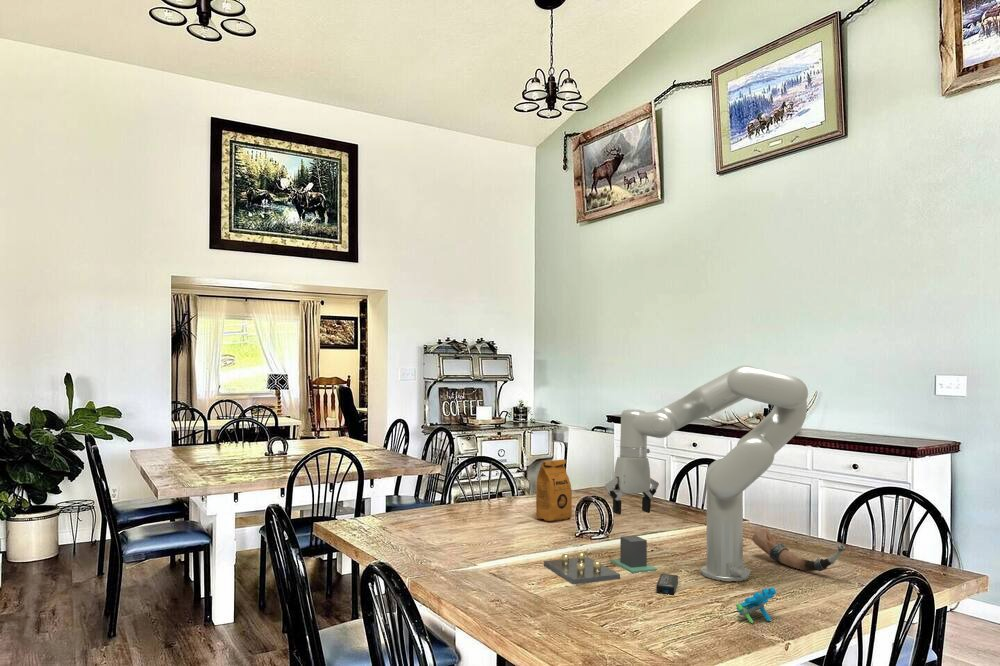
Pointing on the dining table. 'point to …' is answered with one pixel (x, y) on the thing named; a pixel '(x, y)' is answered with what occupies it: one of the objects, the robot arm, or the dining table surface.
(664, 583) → the multiport hub
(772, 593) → the blue toy dinosaur
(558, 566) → the plate
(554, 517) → the coffee package
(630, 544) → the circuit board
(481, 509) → the dining table surface
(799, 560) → the drinking horn
